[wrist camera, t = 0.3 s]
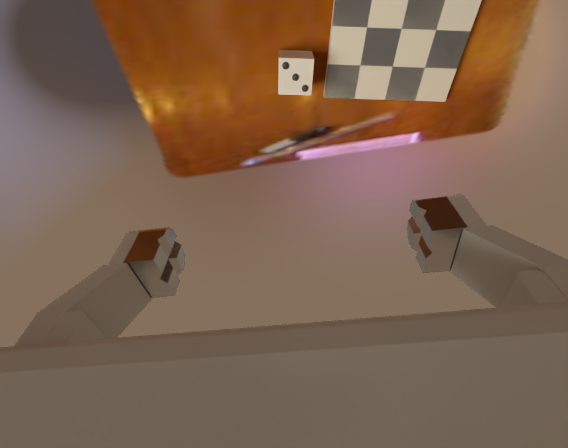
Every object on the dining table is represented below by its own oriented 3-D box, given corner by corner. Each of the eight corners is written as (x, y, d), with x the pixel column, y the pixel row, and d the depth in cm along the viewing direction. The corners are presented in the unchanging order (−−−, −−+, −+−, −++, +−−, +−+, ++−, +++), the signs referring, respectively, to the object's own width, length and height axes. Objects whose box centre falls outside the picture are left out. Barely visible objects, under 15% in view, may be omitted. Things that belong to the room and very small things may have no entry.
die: (279, 49, 48) (278, 57, 44) (311, 50, 48) (314, 59, 44) (278, 83, 51) (278, 94, 47) (309, 84, 51) (311, 95, 47)
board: (341, -70, 39) (343, -70, 38) (499, -63, 40) (504, -63, 39) (323, 95, 52) (324, 97, 51) (442, 99, 53) (445, 101, 52)
